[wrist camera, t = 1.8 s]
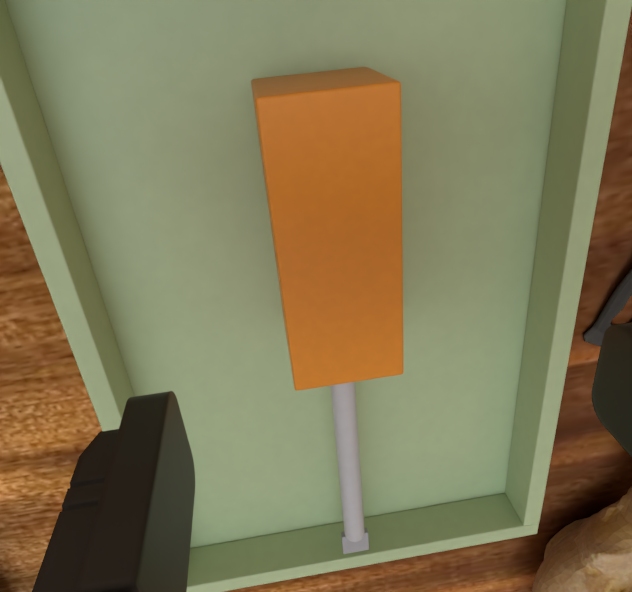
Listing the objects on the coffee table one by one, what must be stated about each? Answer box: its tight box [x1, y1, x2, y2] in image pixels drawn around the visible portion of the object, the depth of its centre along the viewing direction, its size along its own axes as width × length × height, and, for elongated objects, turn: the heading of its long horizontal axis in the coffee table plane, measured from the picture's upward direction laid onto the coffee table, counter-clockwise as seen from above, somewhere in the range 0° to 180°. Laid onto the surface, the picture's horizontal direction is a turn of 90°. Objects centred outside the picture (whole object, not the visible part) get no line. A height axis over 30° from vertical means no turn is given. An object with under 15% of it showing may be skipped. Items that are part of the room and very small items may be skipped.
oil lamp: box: [532, 486, 632, 592], centre depth 27 cm, size 11×14×5 cm
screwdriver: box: [251, 67, 404, 554], centre depth 19 cm, size 4×20×4 cm, turn 5°
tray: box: [0, 0, 632, 592], centre depth 20 cm, size 26×18×3 cm
